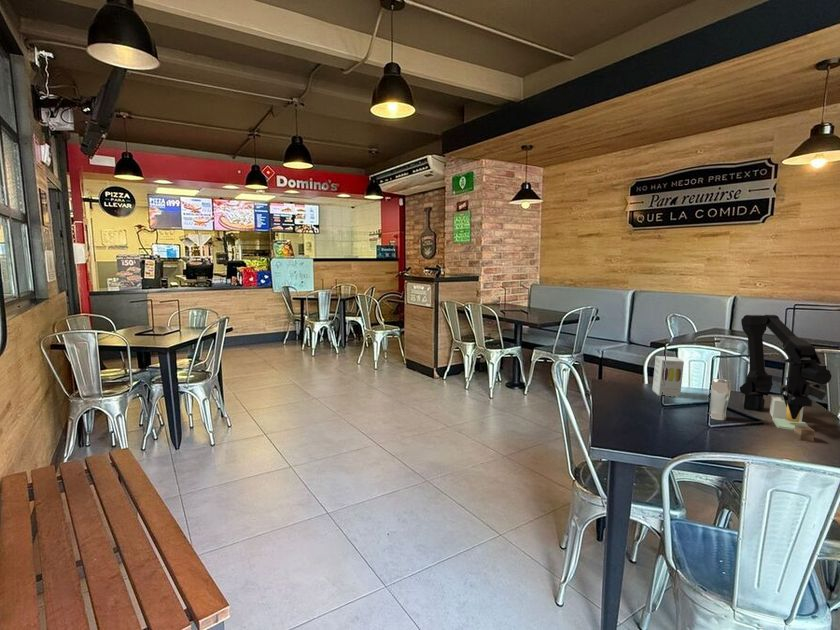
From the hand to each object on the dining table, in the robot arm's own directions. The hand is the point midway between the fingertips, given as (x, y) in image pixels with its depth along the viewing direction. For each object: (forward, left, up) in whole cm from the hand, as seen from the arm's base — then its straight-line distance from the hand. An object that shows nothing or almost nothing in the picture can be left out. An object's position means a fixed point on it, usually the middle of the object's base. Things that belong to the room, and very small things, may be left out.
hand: (792, 417), depth 172 cm
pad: (0, 0, -4) cm, 4 cm away
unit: (0, +11, -4) cm, 12 cm away
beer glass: (-24, -4, -4) cm, 25 cm away
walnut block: (+1, -13, -4) cm, 14 cm away
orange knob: (0, 0, -1) cm, 1 cm away
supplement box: (-42, +21, -4) cm, 47 cm away
